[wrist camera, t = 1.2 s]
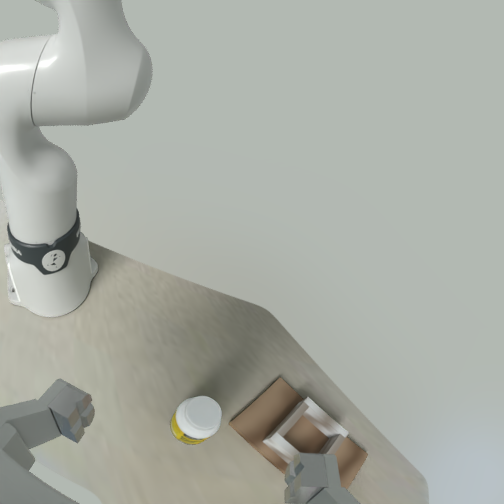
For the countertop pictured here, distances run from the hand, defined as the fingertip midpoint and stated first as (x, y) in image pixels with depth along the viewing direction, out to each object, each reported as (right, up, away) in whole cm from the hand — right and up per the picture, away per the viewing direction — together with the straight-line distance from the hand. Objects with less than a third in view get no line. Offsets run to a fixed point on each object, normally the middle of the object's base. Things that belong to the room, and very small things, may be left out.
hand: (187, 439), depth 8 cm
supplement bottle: (-6, -17, +24) cm, 30 cm away
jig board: (+10, -23, +26) cm, 36 cm away
